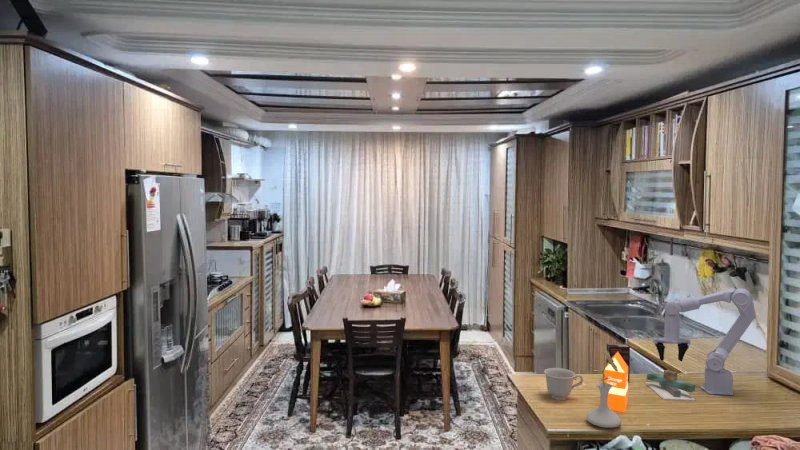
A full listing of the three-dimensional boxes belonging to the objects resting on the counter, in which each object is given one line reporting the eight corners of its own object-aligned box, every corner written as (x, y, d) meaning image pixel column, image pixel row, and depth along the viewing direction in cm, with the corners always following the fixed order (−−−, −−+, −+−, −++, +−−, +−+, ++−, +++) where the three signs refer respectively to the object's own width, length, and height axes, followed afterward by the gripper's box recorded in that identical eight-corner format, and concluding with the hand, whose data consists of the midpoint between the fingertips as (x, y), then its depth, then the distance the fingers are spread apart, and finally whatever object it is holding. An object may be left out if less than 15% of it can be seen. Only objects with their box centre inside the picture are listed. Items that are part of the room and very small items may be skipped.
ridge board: (674, 384, 214) (675, 377, 214) (695, 401, 196) (696, 393, 196) (645, 383, 215) (645, 376, 215) (663, 399, 197) (663, 392, 197)
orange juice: (627, 404, 193) (629, 352, 192) (624, 412, 185) (626, 358, 184) (605, 399, 197) (607, 349, 196) (602, 407, 189) (603, 355, 188)
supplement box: (625, 379, 220) (626, 343, 219) (629, 383, 215) (630, 346, 215) (605, 378, 221) (606, 343, 220) (608, 382, 216) (609, 346, 215)
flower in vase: (619, 434, 168) (621, 360, 166) (583, 426, 173) (585, 354, 172) (623, 419, 179) (625, 350, 178) (589, 412, 184) (591, 345, 183)
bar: (646, 379, 212) (647, 366, 212) (650, 377, 214) (651, 365, 213) (691, 392, 197) (691, 378, 197) (694, 391, 199) (695, 377, 198)
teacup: (585, 405, 191) (585, 379, 191) (544, 402, 194) (545, 376, 194) (580, 393, 203) (580, 369, 203) (542, 390, 206) (542, 366, 206)
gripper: (658, 330, 212) (657, 362, 212) (694, 331, 210) (693, 363, 211) (651, 326, 219) (650, 357, 219) (686, 327, 218) (685, 358, 218)
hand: (670, 360), depth 216 cm, fingers open, 7 cm apart
